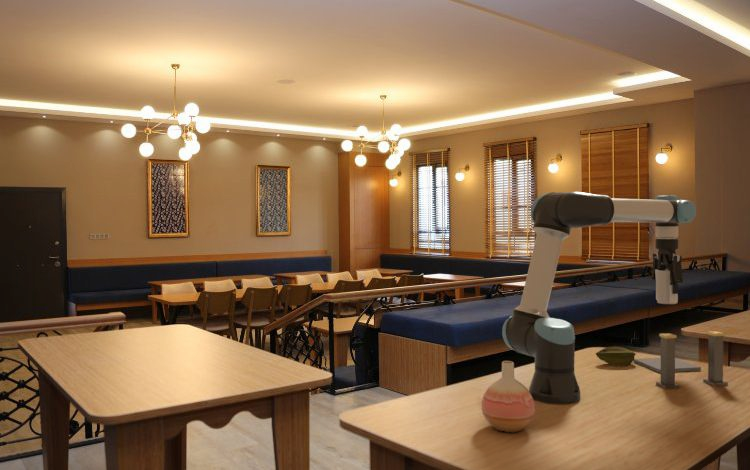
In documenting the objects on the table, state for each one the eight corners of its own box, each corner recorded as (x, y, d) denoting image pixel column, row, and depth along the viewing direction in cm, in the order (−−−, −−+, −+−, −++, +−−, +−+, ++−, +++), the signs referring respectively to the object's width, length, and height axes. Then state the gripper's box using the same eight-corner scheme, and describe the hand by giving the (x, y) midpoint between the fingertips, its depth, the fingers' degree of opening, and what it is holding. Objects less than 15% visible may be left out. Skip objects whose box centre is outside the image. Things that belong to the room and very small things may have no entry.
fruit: (628, 369, 224) (628, 351, 224) (594, 365, 231) (594, 347, 231) (637, 363, 233) (637, 346, 233) (604, 359, 240) (604, 342, 240)
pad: (659, 372, 219) (659, 369, 219) (633, 362, 235) (633, 359, 235) (700, 370, 221) (700, 367, 221) (672, 360, 237) (672, 357, 237)
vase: (524, 441, 155) (524, 371, 154) (473, 431, 162) (473, 364, 162) (541, 425, 167) (541, 359, 166) (493, 417, 174) (492, 354, 173)
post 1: (665, 389, 199) (665, 336, 198) (655, 384, 204) (656, 333, 203) (679, 388, 200) (679, 335, 199) (669, 383, 205) (670, 332, 204)
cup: (681, 304, 222) (681, 270, 222) (657, 304, 224) (657, 270, 224) (675, 301, 230) (675, 268, 230) (652, 301, 232) (652, 268, 231)
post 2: (713, 386, 202) (714, 334, 201) (703, 382, 207) (703, 331, 206) (727, 385, 202) (728, 333, 202) (717, 381, 207) (717, 330, 207)
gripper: (694, 239, 217) (694, 304, 218) (659, 237, 237) (659, 297, 238) (674, 239, 216) (674, 305, 217) (641, 237, 236) (641, 297, 237)
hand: (666, 301), depth 227 cm, fingers closed on cup, 7 cm apart
